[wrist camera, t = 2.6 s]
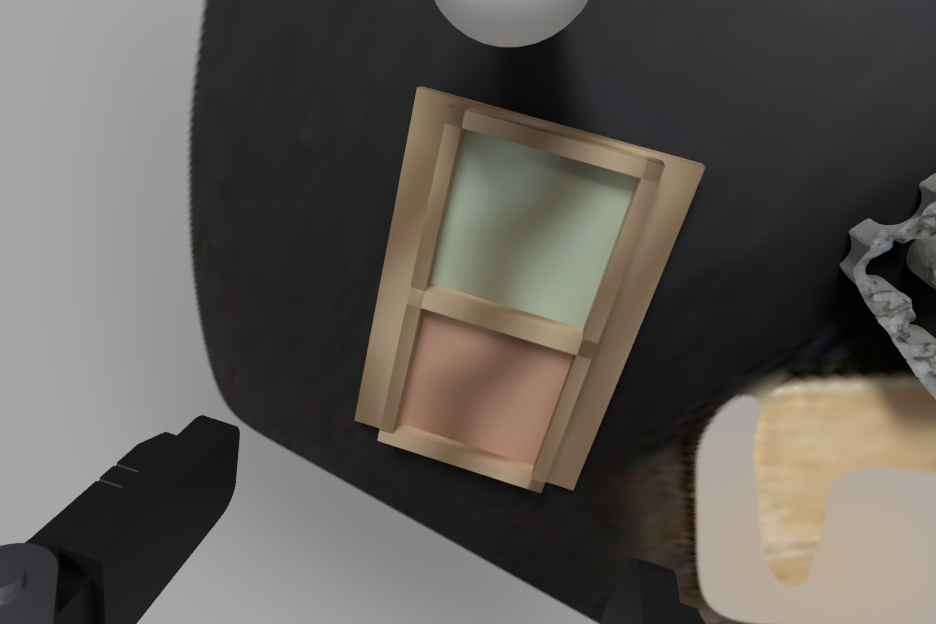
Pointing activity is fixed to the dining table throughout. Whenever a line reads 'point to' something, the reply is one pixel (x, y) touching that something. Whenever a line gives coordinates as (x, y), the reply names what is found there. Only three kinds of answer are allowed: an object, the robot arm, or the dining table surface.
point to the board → (514, 287)
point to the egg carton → (926, 258)
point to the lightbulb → (510, 19)
